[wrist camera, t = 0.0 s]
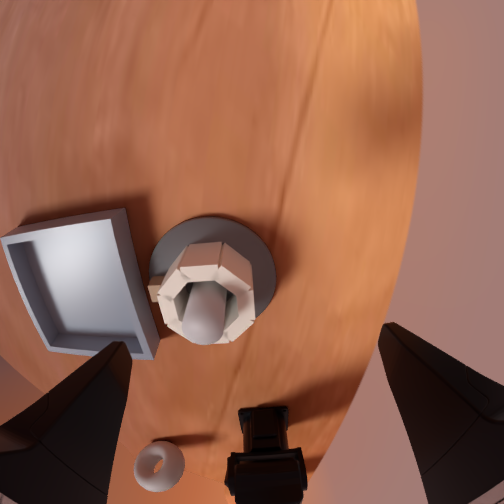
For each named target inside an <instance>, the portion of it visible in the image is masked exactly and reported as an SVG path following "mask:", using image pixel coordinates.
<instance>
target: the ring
mask: <svg viewBox="0 0 504 504" xmlns="http://www.w3.org/2000/svg"><path fill="white" fill-rule="evenodd" d="M199 281H216V282H218V283H219V284H220V285H222V286H223V287H225V288H226V289H227V290H229V291H230V292H232V293H233V294H234V295H233V296H232V297H231V298H230V299H229V300H228V301H227V302H226V307H225V319H224V331H223V335H222V337H221V339H220V340H218V341H217V342H215V343H213V344H218V343H229V340H230V341H232V342H233V341H234V340H235V339H236V338H237V337H238V336H240V335H241V334H242V333H243V332H244V331H245V330H246V329H247V328H249V327H250V326H251V325H252V324H253V323H254V320H255V306H254V291H253V278H252V266H251V265H250V261H248V260H247V259H246V258H244V257H243V256H242V255H240V254H239V253H238V252H237V251H235V250H234V249H233V248H231V247H230V246H229V245H227V244H226V243H224V244H223V245H222V242H211V243H198V244H189V247H188V246H186V247H185V248H184V250H183V251H182V252H181V253H180V255H179V256H178V257H177V258H176V260H175V261H174V262H173V264H172V265H171V266H170V267H169V269H168V271H167V273H166V276H153V277H152V279H151V281H150V282H149V284H148V289H149V293H150V296H151V300H152V302H159V306H160V309H161V313H162V316H163V319H164V323H165V324H168V325H167V327H169V328H170V329H172V330H173V331H175V332H176V333H178V334H180V335H181V336H183V337H184V338H186V339H188V338H187V337H186V336H185V335H184V334H183V331H182V322H183V318H184V314H185V311H186V307H187V304H188V300H189V297H190V294H189V293H187V290H186V284H187V282H199ZM188 340H189V339H188ZM189 341H190V340H189ZM191 342H192V341H191ZM193 343H194V342H193Z"/></svg>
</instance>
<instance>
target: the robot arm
mask: <svg viewBox="0 0 504 504" xmlns="http://www.w3.org/2000/svg"><path fill="white" fill-rule="evenodd" d="M378 347H379V351H380V354H381V358H382V361H383V365H384V369H385V372H386V376H387V380H388V382H389V385H390V388H391V391H392V393H393V396H394V398H395V401H396V404H397V406H398V409H399V412H400V414H401V417H402V420H403V423H404V426H405V428H406V431H407V434H408V437H409V440H410V443H411V446H412V449H413V452H414V455H415V458H416V461H417V465H418V468H419V471H420V475H421V479H422V482H423V486H424V489H425V493H426V497H427V500H428V504H504V386H503V385H501V384H499V383H497V382H495V381H493V380H491V379H489V378H487V377H485V376H483V375H482V374H480V373H478V372H476V371H475V370H473V369H471V368H470V367H468V366H466V365H465V364H463V363H461V362H460V361H458V360H457V359H455V358H453V357H452V356H450V355H448V354H447V353H445V352H443V351H442V350H440V349H438V348H437V347H435V346H433V345H432V344H430V343H428V342H427V341H425V340H423V339H422V338H420V337H418V336H417V335H415V334H413V333H412V332H410V331H408V330H407V329H405V328H403V327H401V326H400V325H398V324H397V323H394V322H390V323H385V324H383V326H382V328H381V332H380V336H379V340H378ZM131 369H132V357H131V354H130V352H129V350H128V347H127V345H126V343H125V342H124V341H116V340H115V341H112V342H111V343H110V344H108V345H107V346H106V347H105V348H103V349H102V350H101V351H99V352H98V353H97V354H96V355H94V356H93V357H92V358H91V359H89V360H88V361H87V362H85V363H84V364H83V365H82V366H80V367H79V368H78V369H77V370H75V371H74V372H73V373H71V374H70V375H69V376H68V377H66V378H65V379H64V380H63V381H61V382H60V383H59V384H58V385H56V386H55V387H54V388H53V389H51V390H50V391H49V393H46V394H45V395H44V396H43V397H41V398H40V399H39V400H37V401H36V402H35V403H33V404H32V405H31V406H29V407H28V408H26V409H25V410H24V411H22V412H21V413H19V414H18V415H16V416H15V417H13V418H12V419H10V420H9V421H7V422H6V423H4V424H2V425H1V426H0V504H106V503H107V497H108V496H107V495H108V489H109V483H110V477H111V471H112V465H113V461H114V456H115V450H116V445H117V441H118V436H119V432H120V427H121V423H122V418H123V414H124V410H125V406H126V402H127V397H128V390H129V383H130V376H131ZM238 416H239V421H240V425H241V430H242V433H243V450H244V453H236V452H231V456H230V457H228V458H227V472H226V476H225V481H224V483H225V485H226V486H227V487H228V488H229V491H230V494H231V496H235V502H236V504H301V503H302V500H303V491H304V490H307V473H306V468H305V463H304V459H303V454H302V450H301V447H298V448H295V449H289V448H288V440H287V432H286V431H287V430H288V407H287V406H283V407H272V408H259V409H241V410H239V411H238Z"/></svg>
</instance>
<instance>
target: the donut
mask: <svg viewBox="0 0 504 504" xmlns="http://www.w3.org/2000/svg"><path fill="white" fill-rule="evenodd" d="M161 459H163V465H162V467H161V468H160V470H159V471H158V472H156V473H154V468H155V465H156V464H157V463H158V462H159V461H160V460H161ZM184 468H185V459H184V456H183V454H182V451H181V450H180V449H179V448H178V447H177V446H176V445H175V444H172V443H170V442H168V441H157V442H153V443H151V444H149V445H147V446H146V447H145V448H144V449H143V450H142V451H141V452H140V453H139V455H138V456H137V458H136V461H135V464H134V474H135V478H136V480H137V481H138V483H139V485H141V486H142V487H144V488H145V489H146V490H149V491H154V492H161V491H166V490H168V489H170V488H172V487H173V486H174V485H175V484H176V483H177V482H178V481H179V480H180V478H181V476H182V475H183V471H184Z"/></svg>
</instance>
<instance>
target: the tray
mask: <svg viewBox="0 0 504 504" xmlns="http://www.w3.org/2000/svg"><path fill="white" fill-rule="evenodd" d="M0 239H1V242H2V245H3V249H4V252H5V255H6V258H7V261H8V263H9V266H10V269H11V272H12V274H13V277H14V280H15V282H16V285H17V287H18V290H19V292H20V294H21V297H22V299H23V301H24V303H25V306H26V308H27V310H28V312H29V314H30V316H31V318H32V321H33V323H34V325H35V327H36V329H37V330H38V332H39V334H40V336H41V338H42V340H43V342H44V344H45V345H46V347H47V349H48V351H53V352H60V353H68V354H76V355H86V356H94V355H96V354H97V353H98V352H99V351H101V350H102V349H103V348H105V347H106V346H107V345H108V344H110V343H111V342H112V341H115V340H116V341H124V342H125V343H126V345H127V347H128V350H129V352H130V354H131V357H132V359H143V360H154V358H155V355H156V352H157V348H158V345H159V342H160V337H159V334H158V331H157V328H156V325H155V322H154V319H153V316H152V313H151V309H150V306H149V303H148V299H147V296H146V292H145V289H144V285H143V282H142V278H141V274H140V271H139V267H138V263H137V259H136V255H135V251H134V246H133V242H132V238H131V233H130V229H129V224H128V219H127V214H126V209H125V208H119V209H112V210H106V211H99V212H93V213H87V214H81V215H76V216H70V217H65V218H59V219H54V220H49V221H44V222H39V223H34V224H29V225H24V226H20V227H17V228H15V229H13V230H12V231H10V232H9V233H7V234H5V235H4V236H2V237H1V238H0Z"/></svg>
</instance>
